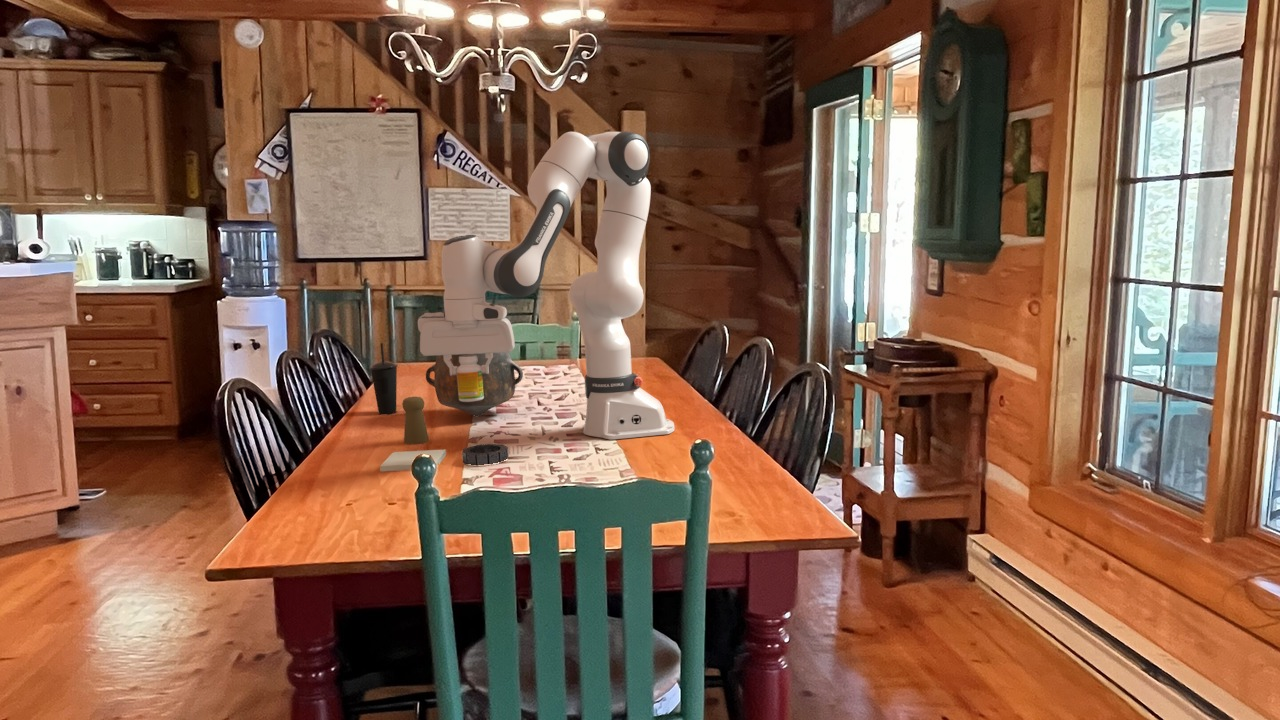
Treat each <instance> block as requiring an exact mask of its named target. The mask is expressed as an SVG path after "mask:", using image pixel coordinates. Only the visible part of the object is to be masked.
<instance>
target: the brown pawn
mask: <svg viewBox="0 0 1280 720" xmlns="http://www.w3.org/2000/svg"><path fill="white" fill-rule="evenodd" d="M424 408H425V401H424V398H422V397H421V396H407V397H406V398H404V399H403V400H402V409H403V411H404V412H405V414H404V432H403V443H404V444H405V445H419V444H424V443H427V442H430V439H429V433H428V431H427V430H428V429H427V426H426V421H425V416H424V411H423V410H424Z"/></svg>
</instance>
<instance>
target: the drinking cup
mask: <svg viewBox="0 0 1280 720" xmlns="http://www.w3.org/2000/svg"><path fill="white" fill-rule="evenodd" d="M379 344H380V353H381V354H380V355H381V360H380V361H378V362H375V363H373V364H372V365H370V366H369V369H370V372H371V379H372V383H373V390H374V394H375V400H376V404H377V405H376V406H377V410H378V415H381V414H387V415H393V414H396V413H397V388H398V387H397V384H398V382H397V381H398V379H397V374H398V373H397V368H398V364H397V363H394V362H392V361H388V360H385V353H384V352H385V351H384V343H382V342H381V343H379ZM392 413H393V414H392Z"/></svg>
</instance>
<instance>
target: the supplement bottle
mask: <svg viewBox="0 0 1280 720" xmlns="http://www.w3.org/2000/svg"><path fill="white" fill-rule="evenodd" d="M477 362H478V358H477V355H464V356H459V363H460V364H461V365H460V366H459V367H458V368H457V381H458V394H459V400H460V401H462V402H472V401H479V400H482V399H483V398H484V393H483V380H482V373H481V371H482V370H481V366H480V365H477Z"/></svg>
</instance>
